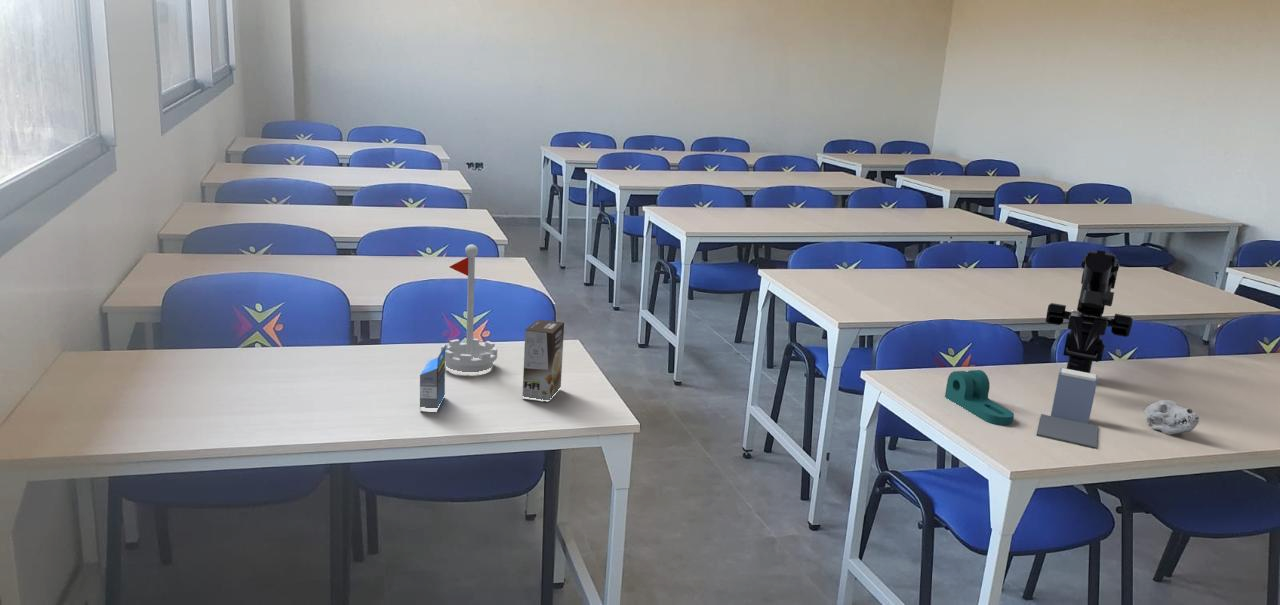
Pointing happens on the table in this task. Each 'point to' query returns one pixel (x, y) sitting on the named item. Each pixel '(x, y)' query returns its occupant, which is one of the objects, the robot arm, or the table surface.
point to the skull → (1170, 417)
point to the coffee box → (543, 359)
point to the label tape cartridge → (433, 382)
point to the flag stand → (469, 328)
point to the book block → (1074, 395)
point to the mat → (1068, 431)
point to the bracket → (976, 397)
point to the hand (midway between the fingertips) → (1082, 349)
